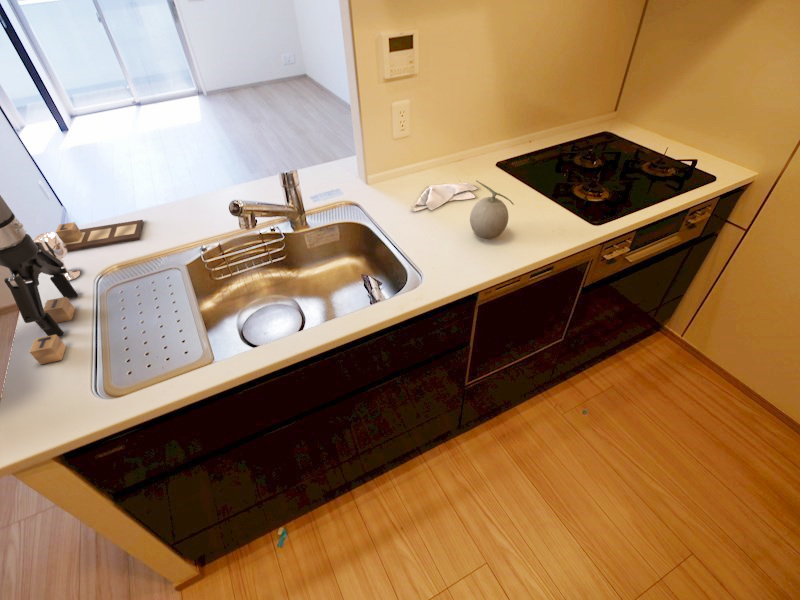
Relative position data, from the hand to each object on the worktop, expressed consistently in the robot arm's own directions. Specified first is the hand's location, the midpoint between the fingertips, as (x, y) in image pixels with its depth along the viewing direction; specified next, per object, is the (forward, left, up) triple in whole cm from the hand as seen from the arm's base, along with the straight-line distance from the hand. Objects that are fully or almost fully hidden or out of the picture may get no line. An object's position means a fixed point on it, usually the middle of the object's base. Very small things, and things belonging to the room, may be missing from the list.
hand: (64, 315), depth 101 cm
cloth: (+106, +25, 0) cm, 109 cm away
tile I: (0, 0, 0) cm, 0 cm away
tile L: (-5, +34, +1) cm, 34 cm away
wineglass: (-2, +17, 0) cm, 17 cm away
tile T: (+1, -13, 0) cm, 13 cm away
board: (+2, +34, 0) cm, 34 cm away
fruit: (+110, -1, 0) cm, 110 cm away
